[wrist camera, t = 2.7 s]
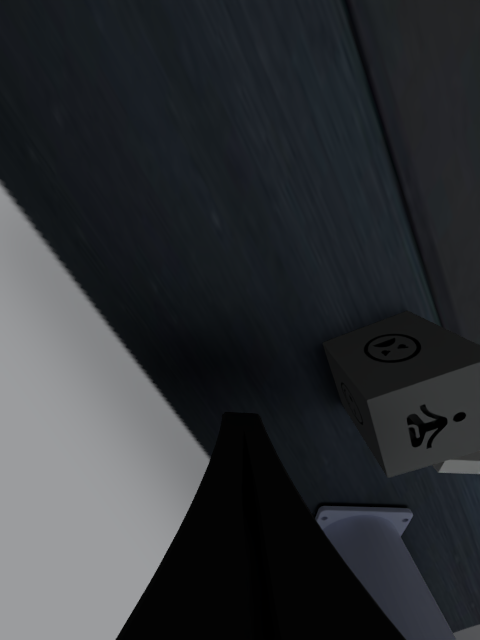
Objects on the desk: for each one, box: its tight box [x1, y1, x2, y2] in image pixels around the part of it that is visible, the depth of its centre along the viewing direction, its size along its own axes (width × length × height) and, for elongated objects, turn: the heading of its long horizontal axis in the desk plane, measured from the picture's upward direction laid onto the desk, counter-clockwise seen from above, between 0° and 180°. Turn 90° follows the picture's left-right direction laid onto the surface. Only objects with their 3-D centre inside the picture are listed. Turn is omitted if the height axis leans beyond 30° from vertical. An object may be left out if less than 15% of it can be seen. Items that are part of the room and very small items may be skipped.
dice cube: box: [322, 311, 480, 478], centre depth 12 cm, size 5×5×5 cm
